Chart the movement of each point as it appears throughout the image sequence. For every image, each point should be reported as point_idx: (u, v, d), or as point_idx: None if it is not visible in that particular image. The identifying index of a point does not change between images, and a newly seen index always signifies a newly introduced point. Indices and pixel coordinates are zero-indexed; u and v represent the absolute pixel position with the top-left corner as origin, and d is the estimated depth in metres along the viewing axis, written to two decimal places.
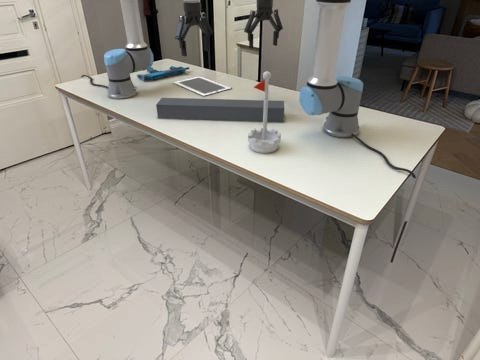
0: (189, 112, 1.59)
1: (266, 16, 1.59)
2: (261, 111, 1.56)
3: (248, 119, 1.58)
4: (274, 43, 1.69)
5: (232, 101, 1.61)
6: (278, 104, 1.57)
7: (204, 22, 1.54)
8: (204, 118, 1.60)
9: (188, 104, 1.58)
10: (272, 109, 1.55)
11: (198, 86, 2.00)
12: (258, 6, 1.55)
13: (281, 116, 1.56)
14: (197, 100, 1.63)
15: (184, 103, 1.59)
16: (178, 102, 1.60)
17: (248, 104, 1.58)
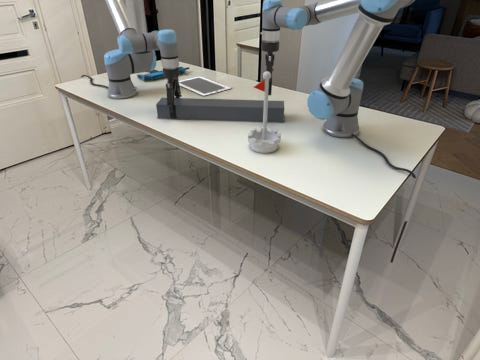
0: (189, 112, 1.59)
1: None
2: (261, 111, 1.56)
3: (248, 119, 1.58)
4: None
5: (232, 101, 1.61)
6: (278, 104, 1.57)
7: None
8: (204, 118, 1.60)
9: (188, 104, 1.58)
10: (272, 109, 1.55)
11: (198, 86, 2.00)
12: (271, 50, 1.42)
13: (281, 116, 1.56)
14: (197, 100, 1.63)
15: (184, 103, 1.59)
16: (178, 102, 1.60)
17: (248, 104, 1.58)
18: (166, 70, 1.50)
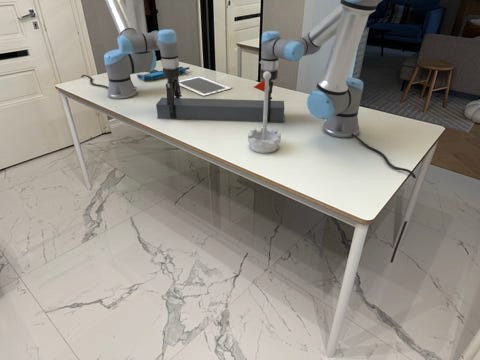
0: (189, 112, 1.59)
1: None
2: (261, 111, 1.56)
3: (248, 119, 1.58)
4: None
5: (232, 101, 1.61)
6: (278, 104, 1.57)
7: None
8: (204, 118, 1.60)
9: (188, 104, 1.58)
10: (272, 109, 1.55)
11: (198, 86, 2.00)
12: (270, 79, 1.48)
13: (281, 116, 1.56)
14: (197, 100, 1.63)
15: (184, 103, 1.59)
16: (178, 102, 1.60)
17: (248, 104, 1.58)
18: (166, 70, 1.50)
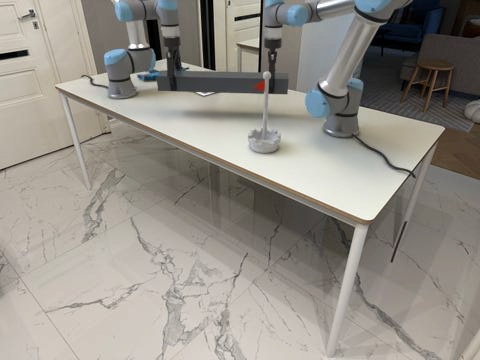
0: (190, 84, 1.54)
1: None
2: None
3: (251, 91, 1.53)
4: None
5: (234, 73, 1.56)
6: (282, 76, 1.52)
7: None
8: (206, 90, 1.55)
9: (190, 76, 1.53)
10: (276, 80, 1.50)
11: None
12: (274, 47, 1.43)
13: (285, 88, 1.51)
14: (199, 72, 1.58)
15: (185, 75, 1.54)
16: (179, 74, 1.55)
17: (251, 76, 1.53)
18: (166, 39, 1.46)
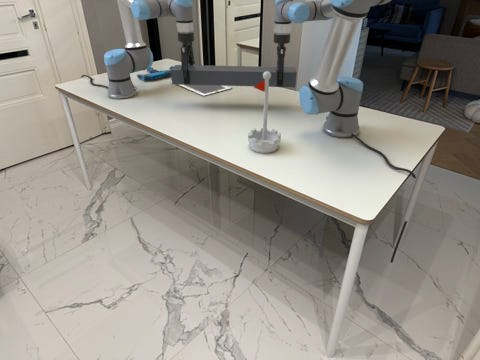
0: (202, 77, 1.62)
1: None
2: (273, 76, 1.59)
3: None
4: None
5: (245, 67, 1.65)
6: (290, 70, 1.61)
7: None
8: (217, 84, 1.63)
9: (202, 70, 1.61)
10: (284, 74, 1.58)
11: (198, 86, 2.00)
12: (283, 42, 1.52)
13: (293, 81, 1.60)
14: (211, 66, 1.66)
15: (198, 69, 1.62)
16: (192, 68, 1.64)
17: (260, 70, 1.61)
18: (181, 34, 1.54)
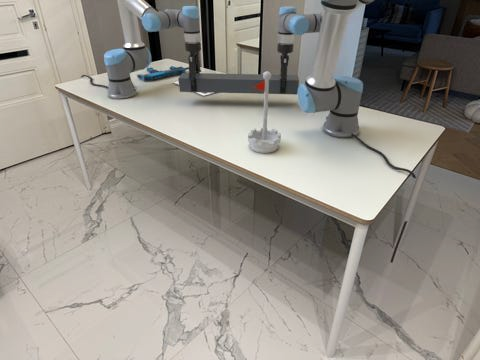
0: (209, 85, 1.69)
1: None
2: (277, 84, 1.66)
3: None
4: None
5: (249, 75, 1.72)
6: (293, 78, 1.68)
7: None
8: (223, 91, 1.70)
9: (209, 78, 1.68)
10: (287, 82, 1.65)
11: None
12: (286, 52, 1.59)
13: (296, 89, 1.67)
14: (216, 74, 1.73)
15: (205, 77, 1.69)
16: (199, 76, 1.71)
17: None
18: (189, 44, 1.61)
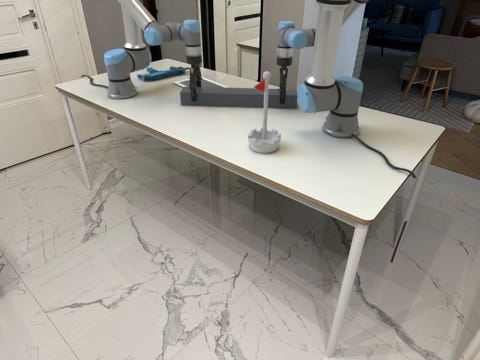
0: (209, 99, 1.73)
1: None
2: (276, 98, 1.70)
3: None
4: None
5: (249, 89, 1.76)
6: (292, 92, 1.72)
7: None
8: (223, 105, 1.74)
9: (209, 92, 1.72)
10: (286, 96, 1.69)
11: None
12: (285, 65, 1.62)
13: (295, 103, 1.70)
14: (217, 88, 1.77)
15: (206, 91, 1.73)
16: (200, 90, 1.74)
17: None
18: (190, 57, 1.64)
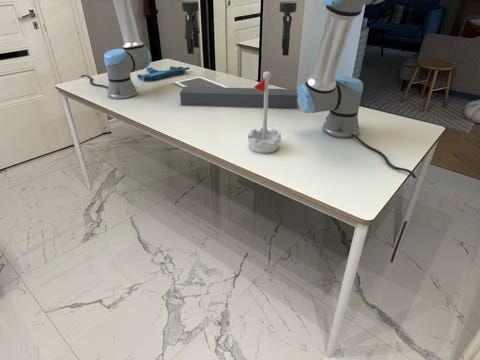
0: (209, 99, 1.73)
1: None
2: (276, 98, 1.70)
3: None
4: None
5: (249, 89, 1.76)
6: (292, 92, 1.72)
7: None
8: (223, 105, 1.74)
9: (209, 92, 1.72)
10: (286, 96, 1.69)
11: (198, 86, 2.00)
12: (289, 11, 1.49)
13: (295, 103, 1.70)
14: (217, 88, 1.77)
15: (206, 91, 1.73)
16: (200, 90, 1.74)
17: None
18: (185, 3, 1.51)
